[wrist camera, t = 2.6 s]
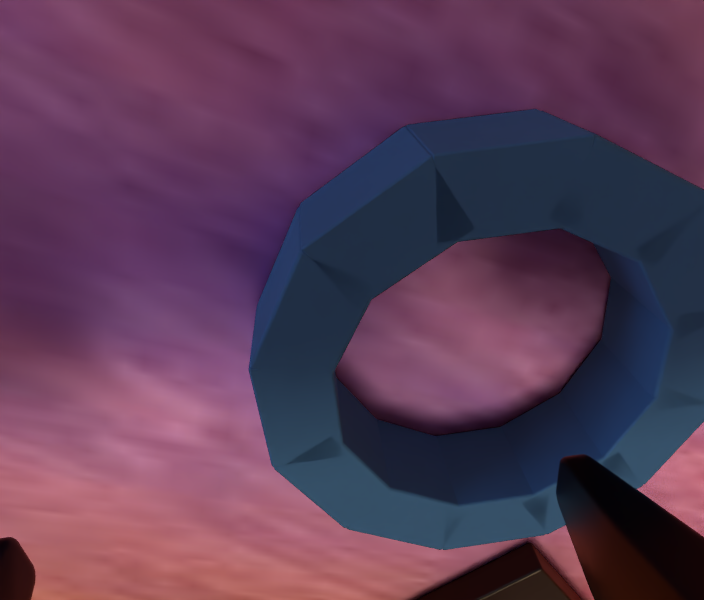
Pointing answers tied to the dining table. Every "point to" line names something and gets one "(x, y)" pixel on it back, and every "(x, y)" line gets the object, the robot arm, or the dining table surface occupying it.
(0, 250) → the dining table surface
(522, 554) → the peg stand
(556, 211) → the blue ring
